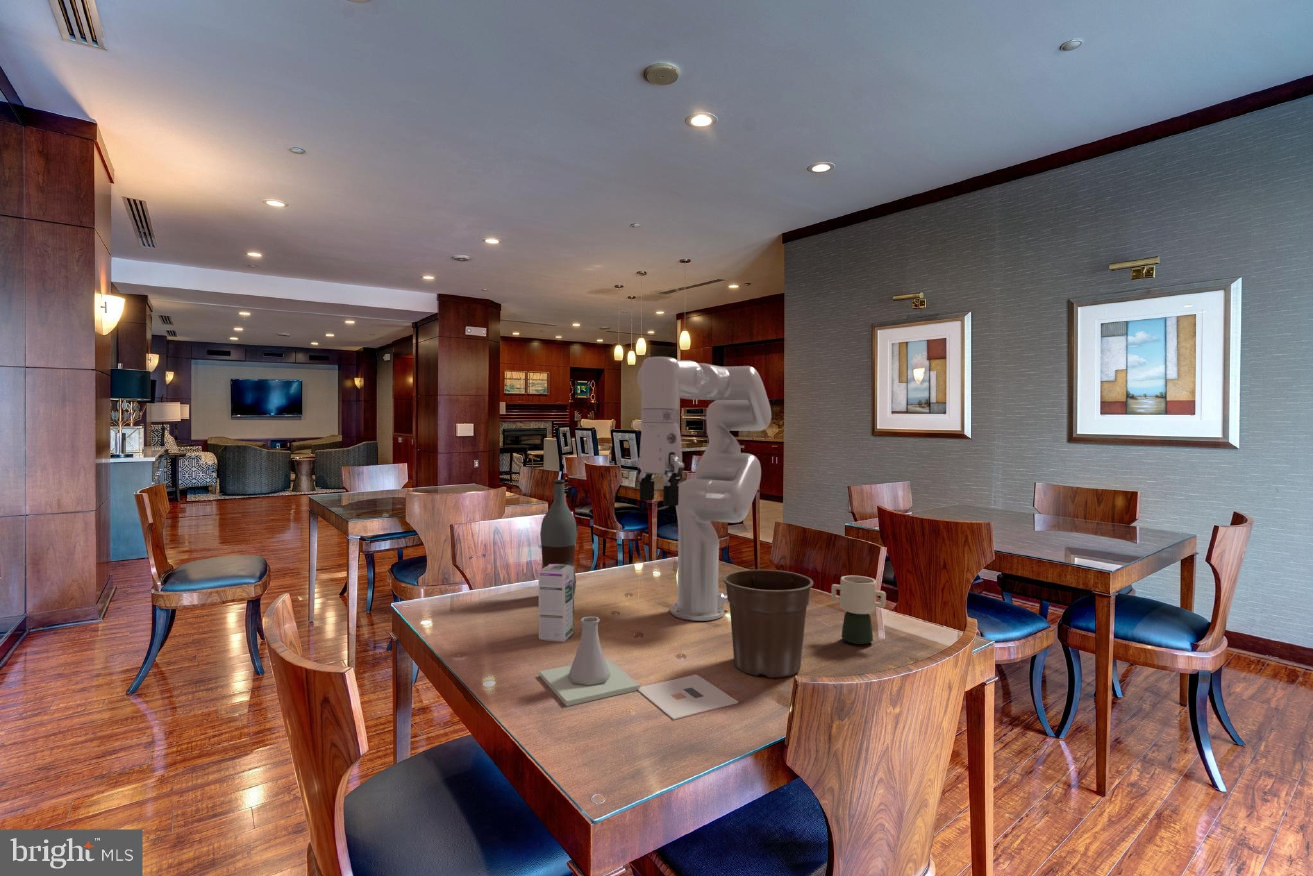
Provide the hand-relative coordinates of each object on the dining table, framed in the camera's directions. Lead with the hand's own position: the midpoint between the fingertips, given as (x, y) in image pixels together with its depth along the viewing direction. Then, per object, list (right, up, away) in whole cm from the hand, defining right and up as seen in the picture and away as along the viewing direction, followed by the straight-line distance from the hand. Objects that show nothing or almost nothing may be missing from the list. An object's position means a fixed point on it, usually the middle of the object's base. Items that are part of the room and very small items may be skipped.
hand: (658, 502), depth 123 cm
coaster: (-12, -28, -20) cm, 37 cm away
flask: (-12, -28, -20) cm, 36 cm away
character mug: (+41, -29, +2) cm, 50 cm away
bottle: (-25, -28, +30) cm, 48 cm away
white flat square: (+4, -29, -24) cm, 38 cm away
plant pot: (+20, -29, -11) cm, 37 cm away
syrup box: (-21, -28, +2) cm, 35 cm away
